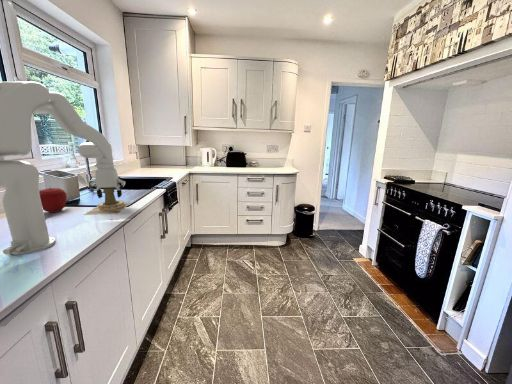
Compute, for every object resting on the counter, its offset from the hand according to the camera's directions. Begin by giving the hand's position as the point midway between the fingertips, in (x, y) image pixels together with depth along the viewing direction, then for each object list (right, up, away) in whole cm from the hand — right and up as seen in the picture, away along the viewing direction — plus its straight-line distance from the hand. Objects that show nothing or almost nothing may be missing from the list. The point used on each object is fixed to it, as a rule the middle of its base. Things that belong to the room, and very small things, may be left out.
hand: (110, 197), depth 130 cm
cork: (0, -5, +1) cm, 6 cm away
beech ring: (0, -5, +1) cm, 5 cm away
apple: (-26, -8, -5) cm, 28 cm away
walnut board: (0, -7, -1) cm, 7 cm away
